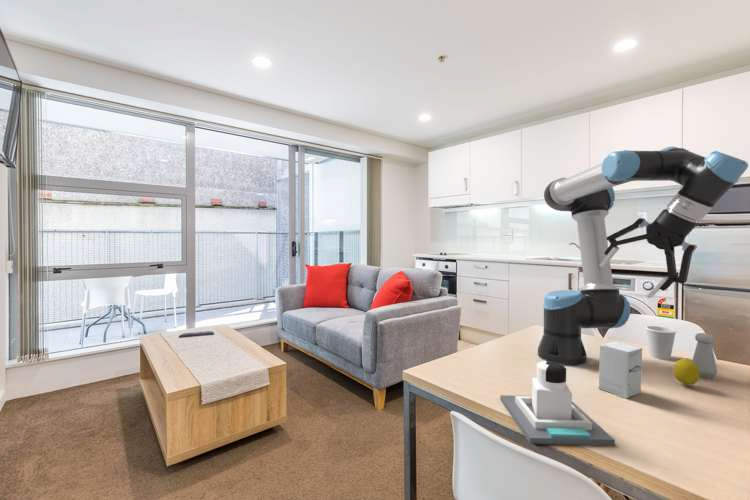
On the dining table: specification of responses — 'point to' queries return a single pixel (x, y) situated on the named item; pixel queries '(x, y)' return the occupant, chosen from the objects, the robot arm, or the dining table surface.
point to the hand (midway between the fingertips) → (624, 280)
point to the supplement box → (620, 369)
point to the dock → (555, 425)
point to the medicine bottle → (551, 392)
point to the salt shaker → (705, 356)
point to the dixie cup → (660, 341)
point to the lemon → (686, 371)
